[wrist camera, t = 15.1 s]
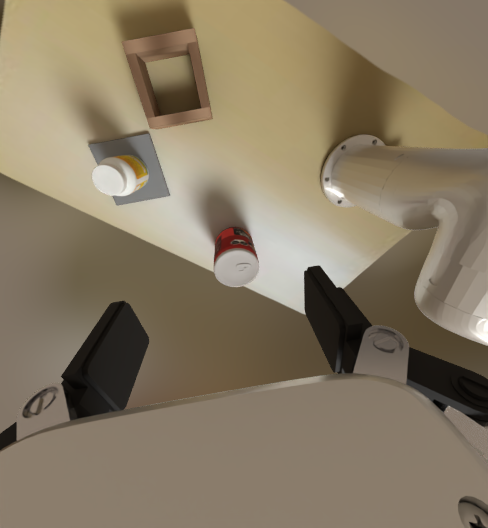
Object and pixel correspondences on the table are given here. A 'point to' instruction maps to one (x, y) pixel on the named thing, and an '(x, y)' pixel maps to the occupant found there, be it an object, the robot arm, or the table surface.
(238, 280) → the canned food
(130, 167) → the supplement bottle
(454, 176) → the robot arm
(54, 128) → the table surface
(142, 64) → the sleeve holder
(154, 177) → the rubber mat
